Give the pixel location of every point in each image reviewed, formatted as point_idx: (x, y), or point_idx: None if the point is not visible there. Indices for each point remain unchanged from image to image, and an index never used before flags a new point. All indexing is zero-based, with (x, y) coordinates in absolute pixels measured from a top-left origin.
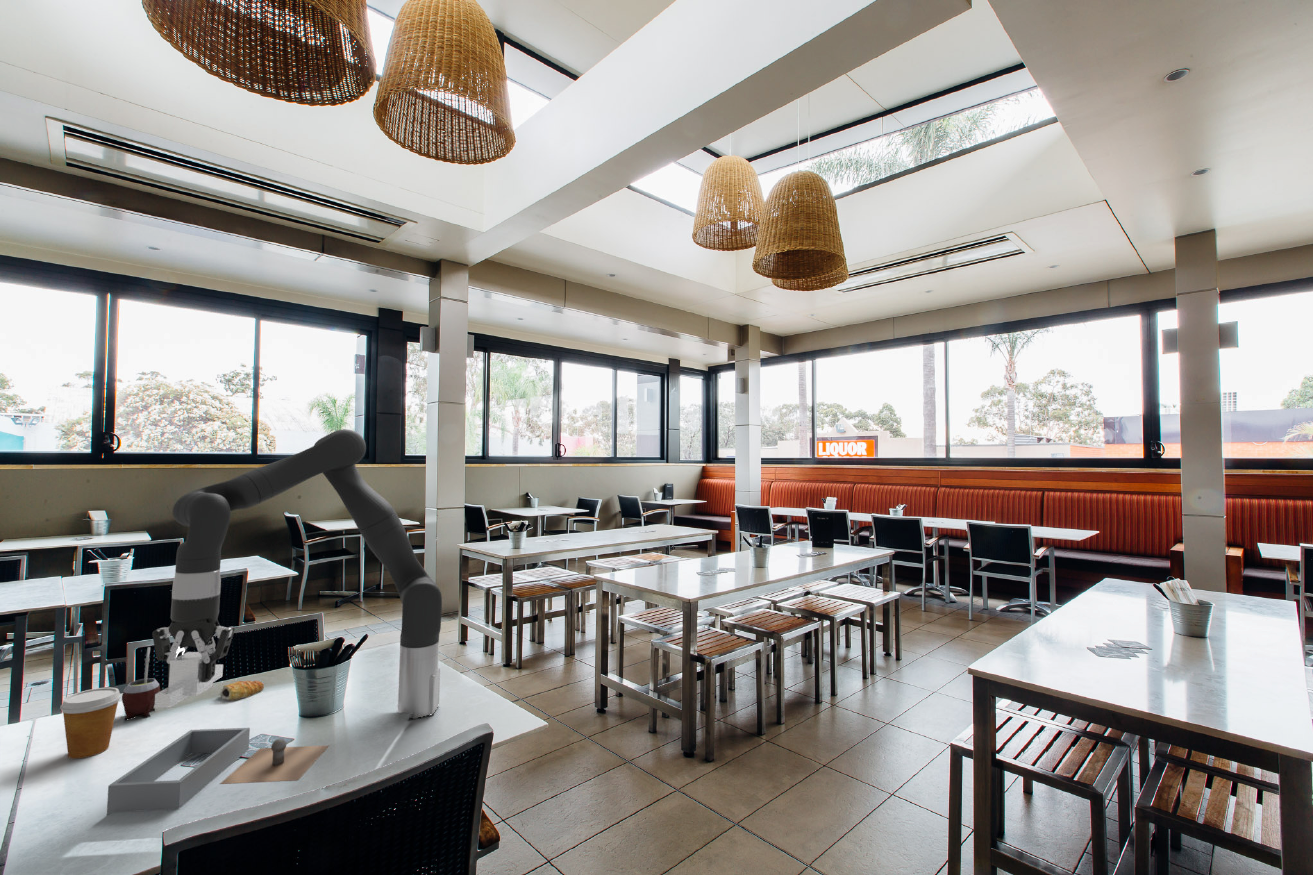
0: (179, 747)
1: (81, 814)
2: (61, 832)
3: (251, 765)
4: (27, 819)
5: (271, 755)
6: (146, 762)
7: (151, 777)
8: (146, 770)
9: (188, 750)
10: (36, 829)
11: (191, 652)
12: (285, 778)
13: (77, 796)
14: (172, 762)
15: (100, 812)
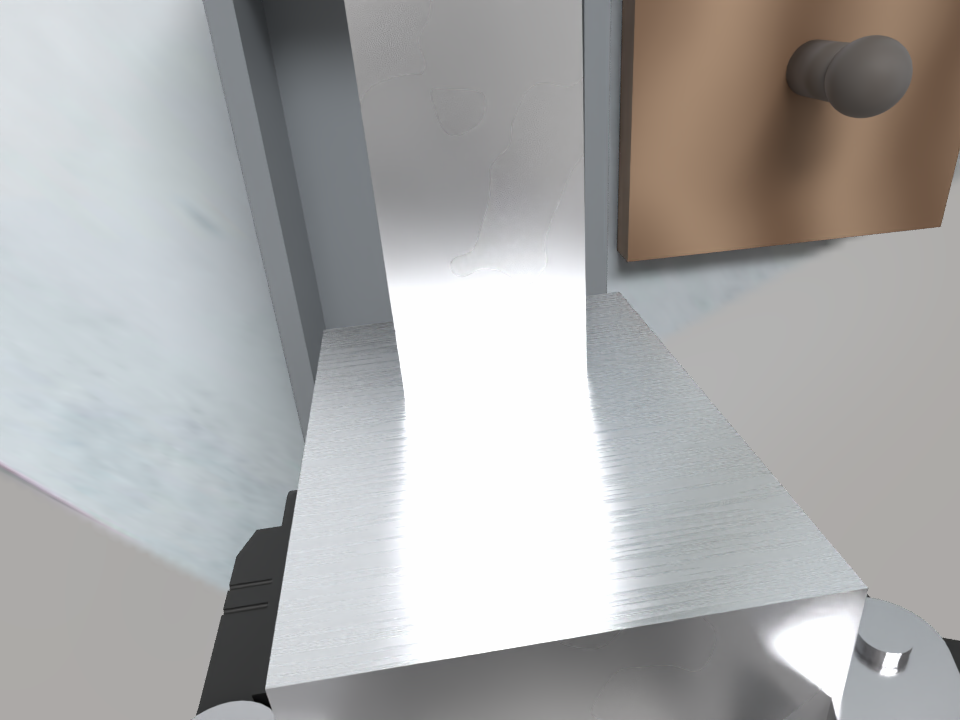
0: (253, 59)
1: (194, 407)
2: (241, 494)
3: (687, 91)
4: (18, 443)
5: None
6: (302, 341)
7: (308, 270)
8: (309, 325)
9: None
10: (132, 487)
11: (377, 689)
12: (886, 214)
13: (19, 296)
14: (276, 114)
15: (255, 394)
